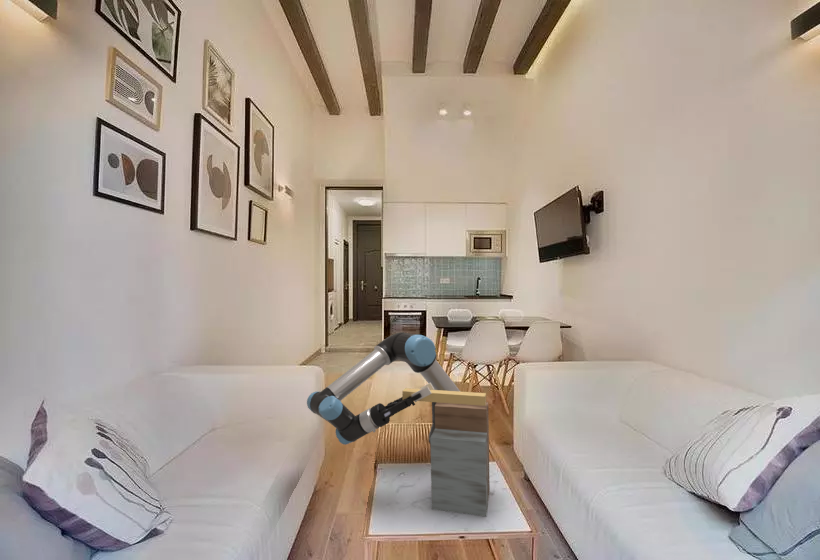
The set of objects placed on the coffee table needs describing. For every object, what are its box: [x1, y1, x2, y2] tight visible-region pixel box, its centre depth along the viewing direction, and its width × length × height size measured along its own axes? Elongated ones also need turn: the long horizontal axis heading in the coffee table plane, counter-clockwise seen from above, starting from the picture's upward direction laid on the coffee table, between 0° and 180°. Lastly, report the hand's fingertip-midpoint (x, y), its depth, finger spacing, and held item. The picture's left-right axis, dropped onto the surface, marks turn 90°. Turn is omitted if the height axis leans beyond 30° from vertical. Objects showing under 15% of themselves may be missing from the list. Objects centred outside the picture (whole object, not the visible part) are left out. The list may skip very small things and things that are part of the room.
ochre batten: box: [401, 387, 487, 406], centre depth 136 cm, size 4×28×3 cm, turn 75°
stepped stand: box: [429, 401, 491, 517], centre depth 139 cm, size 16×18×32 cm
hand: (430, 388), depth 137 cm, fingers closed on ochre batten, 4 cm apart
